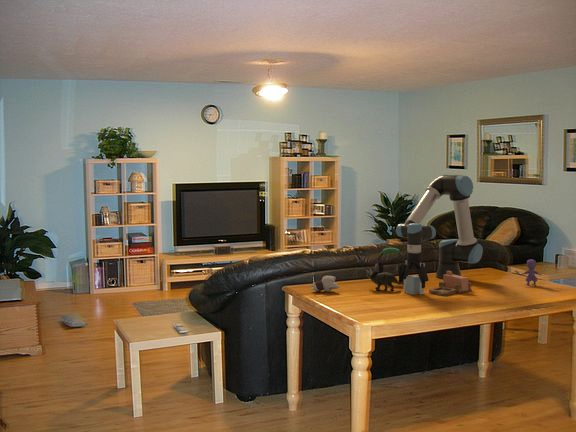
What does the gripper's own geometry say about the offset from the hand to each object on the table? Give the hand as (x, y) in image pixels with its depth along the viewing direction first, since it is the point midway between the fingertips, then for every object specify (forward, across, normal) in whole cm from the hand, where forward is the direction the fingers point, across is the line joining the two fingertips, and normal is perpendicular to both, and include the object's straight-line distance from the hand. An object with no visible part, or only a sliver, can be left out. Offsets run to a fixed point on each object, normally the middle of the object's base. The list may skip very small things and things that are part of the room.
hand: (413, 292), depth 358 cm
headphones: (0, -30, +16) cm, 34 cm away
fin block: (0, 0, 0) cm, 0 cm away
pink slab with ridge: (-1, +11, +22) cm, 25 cm away
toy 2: (0, +32, +65) cm, 73 cm away
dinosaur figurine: (+1, -16, -6) cm, 17 cm away
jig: (0, +11, +17) cm, 20 cm away
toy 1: (+1, -34, -34) cm, 48 cm away
